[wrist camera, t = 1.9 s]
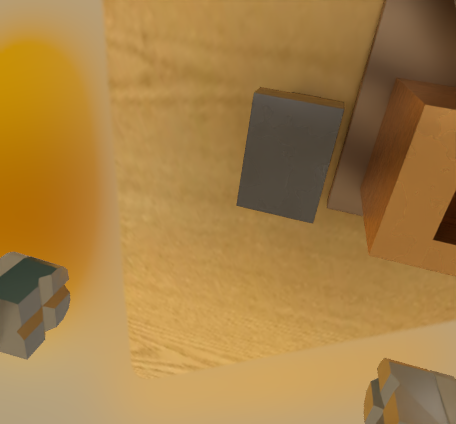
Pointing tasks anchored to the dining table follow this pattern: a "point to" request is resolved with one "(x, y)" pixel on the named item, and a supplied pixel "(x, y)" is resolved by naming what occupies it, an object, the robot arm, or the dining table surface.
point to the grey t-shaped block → (288, 152)
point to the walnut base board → (385, 78)
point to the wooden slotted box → (414, 179)
